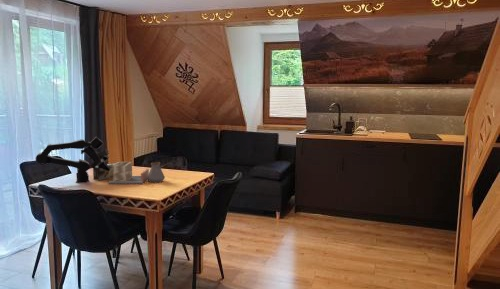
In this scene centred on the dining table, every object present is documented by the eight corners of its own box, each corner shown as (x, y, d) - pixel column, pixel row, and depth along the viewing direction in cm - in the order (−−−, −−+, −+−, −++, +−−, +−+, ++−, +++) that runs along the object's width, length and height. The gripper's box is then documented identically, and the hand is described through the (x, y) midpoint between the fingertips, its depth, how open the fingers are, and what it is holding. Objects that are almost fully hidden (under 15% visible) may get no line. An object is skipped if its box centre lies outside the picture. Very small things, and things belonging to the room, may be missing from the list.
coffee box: (112, 163, 272) (92, 166, 258) (118, 164, 268) (98, 167, 255) (113, 175, 273) (93, 179, 260) (118, 176, 269) (98, 180, 256)
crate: (113, 181, 249) (112, 165, 247) (119, 177, 260) (118, 161, 259) (126, 181, 249) (126, 165, 247) (132, 177, 261) (131, 161, 259)
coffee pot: (143, 182, 253) (143, 160, 251) (157, 179, 262) (156, 157, 260) (165, 186, 240) (164, 163, 238) (178, 183, 250) (178, 161, 248)
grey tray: (108, 184, 246) (108, 173, 245) (117, 178, 264) (117, 168, 263) (142, 184, 246) (142, 173, 245) (149, 178, 264) (149, 168, 263)
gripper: (95, 147, 242) (113, 164, 244) (105, 144, 261) (122, 159, 263) (83, 159, 243) (101, 176, 245) (94, 155, 262) (111, 170, 263)
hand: (109, 170), depth 254 cm, fingers closed
